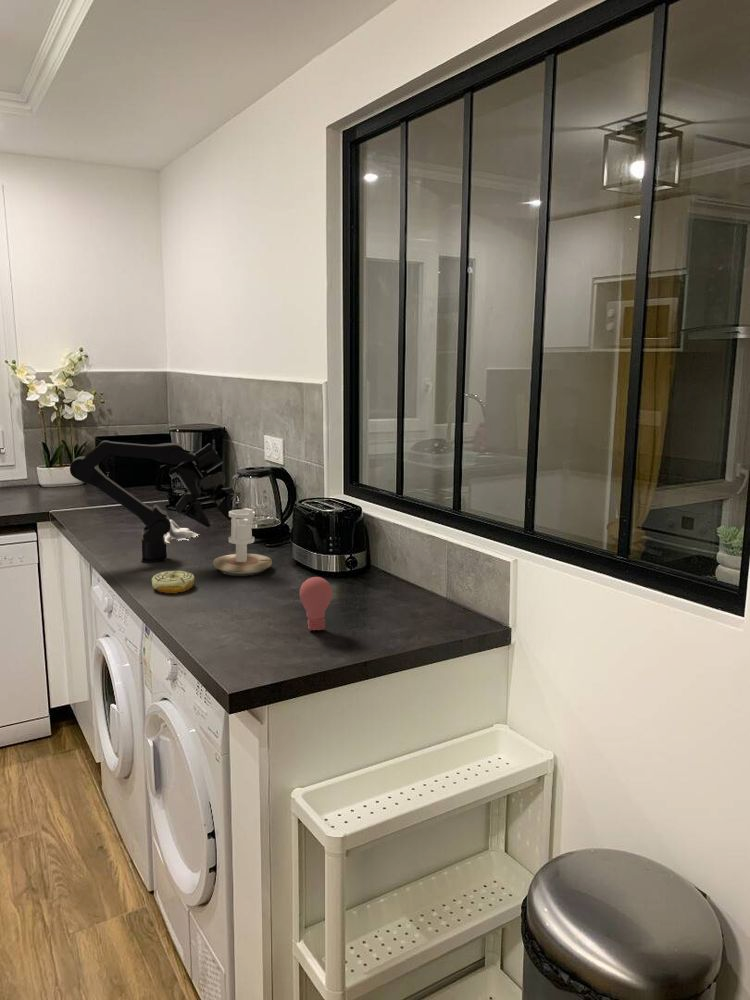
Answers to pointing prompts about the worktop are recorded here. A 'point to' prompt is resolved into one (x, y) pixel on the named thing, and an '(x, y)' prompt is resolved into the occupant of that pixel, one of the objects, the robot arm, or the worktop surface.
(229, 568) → the turntable
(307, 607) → the light bulb
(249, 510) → the strainer
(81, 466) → the robot arm
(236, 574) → the turntable base
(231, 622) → the worktop surface
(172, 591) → the decorated donut
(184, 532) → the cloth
